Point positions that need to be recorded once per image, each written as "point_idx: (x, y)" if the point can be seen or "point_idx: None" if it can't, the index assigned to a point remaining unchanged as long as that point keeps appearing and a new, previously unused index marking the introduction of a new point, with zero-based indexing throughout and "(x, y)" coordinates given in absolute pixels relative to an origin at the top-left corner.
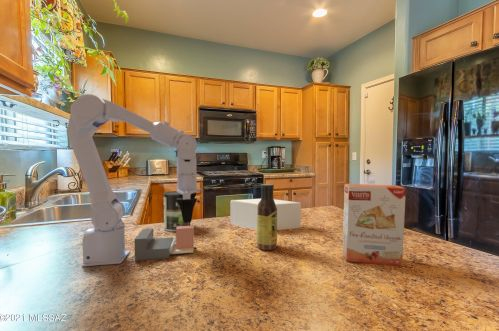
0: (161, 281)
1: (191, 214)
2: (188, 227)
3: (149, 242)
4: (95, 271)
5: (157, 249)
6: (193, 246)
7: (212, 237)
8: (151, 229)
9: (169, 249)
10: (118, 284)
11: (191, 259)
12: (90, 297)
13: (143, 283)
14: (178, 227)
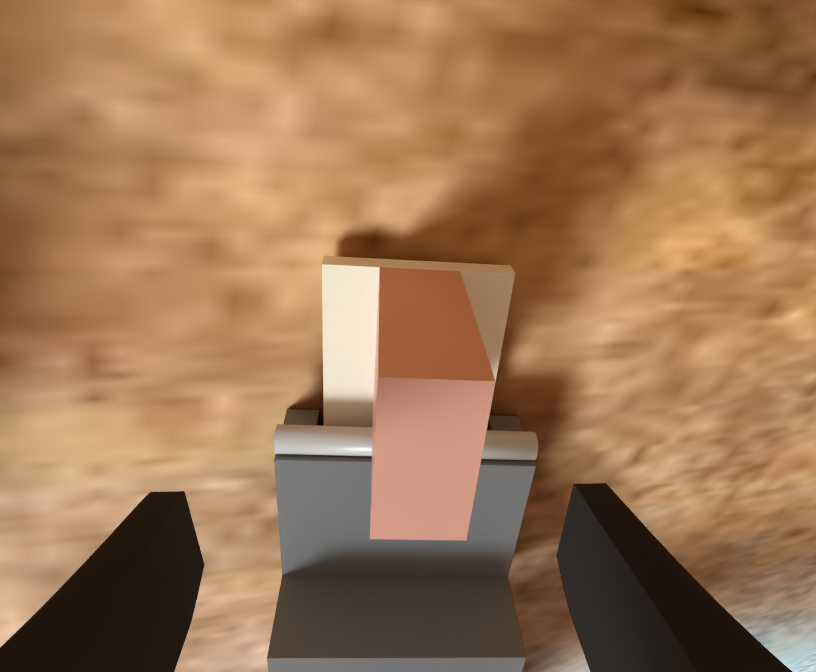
0: (811, 423)
1: (697, 592)
2: (454, 434)
3: (415, 591)
4: (543, 657)
5: (518, 525)
6: (461, 277)
7: (49, 19)
8: (299, 663)
9: (533, 457)
10: (720, 569)
11: (604, 273)
12: (767, 616)
13: (776, 490)
14: (419, 524)
